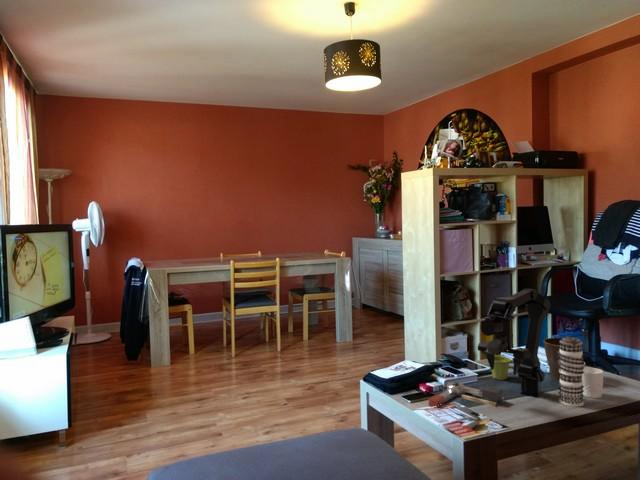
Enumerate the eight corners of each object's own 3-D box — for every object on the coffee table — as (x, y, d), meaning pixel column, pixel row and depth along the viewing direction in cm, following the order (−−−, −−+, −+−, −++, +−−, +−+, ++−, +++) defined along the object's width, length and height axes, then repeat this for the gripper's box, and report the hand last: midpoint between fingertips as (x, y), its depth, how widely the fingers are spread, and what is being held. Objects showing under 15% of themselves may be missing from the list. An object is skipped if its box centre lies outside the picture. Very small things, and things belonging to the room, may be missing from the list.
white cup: (602, 393, 203) (602, 368, 202) (604, 399, 196) (604, 374, 195) (580, 390, 206) (580, 366, 206) (581, 397, 199) (581, 372, 198)
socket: (502, 402, 197) (502, 389, 197) (496, 405, 193) (496, 393, 193) (487, 398, 201) (487, 386, 201) (481, 402, 197) (481, 389, 197)
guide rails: (503, 400, 198) (503, 397, 198) (495, 406, 192) (495, 403, 192) (470, 392, 207) (470, 389, 207) (461, 398, 202) (461, 395, 202)
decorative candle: (554, 397, 199) (553, 335, 198) (578, 398, 198) (578, 335, 197) (562, 406, 190) (562, 341, 189) (588, 406, 189) (588, 341, 188)
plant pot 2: (552, 370, 233) (552, 335, 232) (586, 377, 222) (586, 341, 221) (537, 377, 223) (537, 342, 222) (573, 385, 212) (572, 348, 211)
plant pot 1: (486, 374, 230) (486, 355, 229) (508, 374, 229) (508, 355, 228) (490, 381, 221) (490, 361, 220) (513, 381, 219) (513, 361, 219)
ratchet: (483, 396, 203) (483, 386, 203) (457, 413, 187) (457, 402, 187) (452, 388, 213) (452, 379, 212) (424, 404, 196) (424, 393, 196)
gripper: (469, 331, 193) (470, 371, 194) (516, 339, 179) (516, 382, 180) (485, 326, 200) (485, 365, 201) (530, 334, 186) (531, 375, 187)
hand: (503, 372), depth 192 cm, fingers open, 9 cm apart
